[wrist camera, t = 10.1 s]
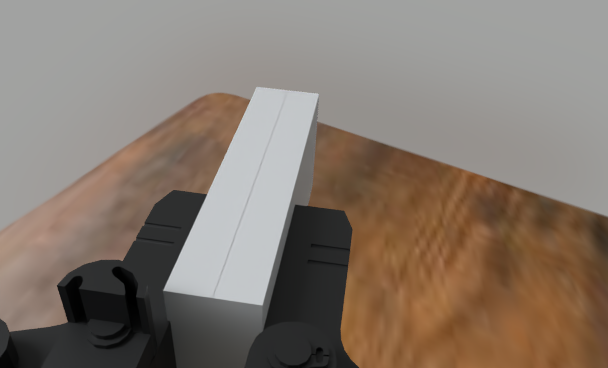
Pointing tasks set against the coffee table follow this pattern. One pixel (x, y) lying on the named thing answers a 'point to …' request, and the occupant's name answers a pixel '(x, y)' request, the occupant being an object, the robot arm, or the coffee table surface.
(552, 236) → the coffee table surface
